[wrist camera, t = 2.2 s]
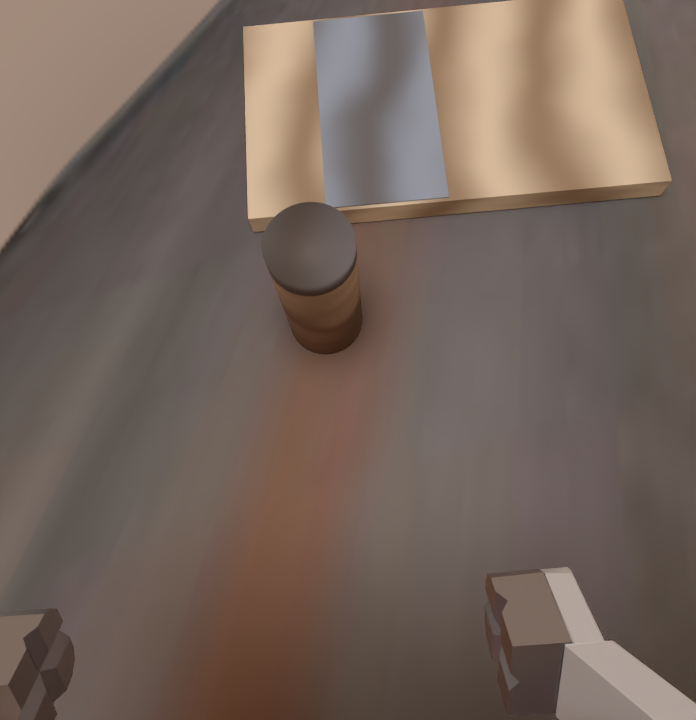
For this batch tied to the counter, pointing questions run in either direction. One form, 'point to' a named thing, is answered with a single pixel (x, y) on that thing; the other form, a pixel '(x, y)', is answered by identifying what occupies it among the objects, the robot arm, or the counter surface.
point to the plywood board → (449, 111)
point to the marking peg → (315, 274)
